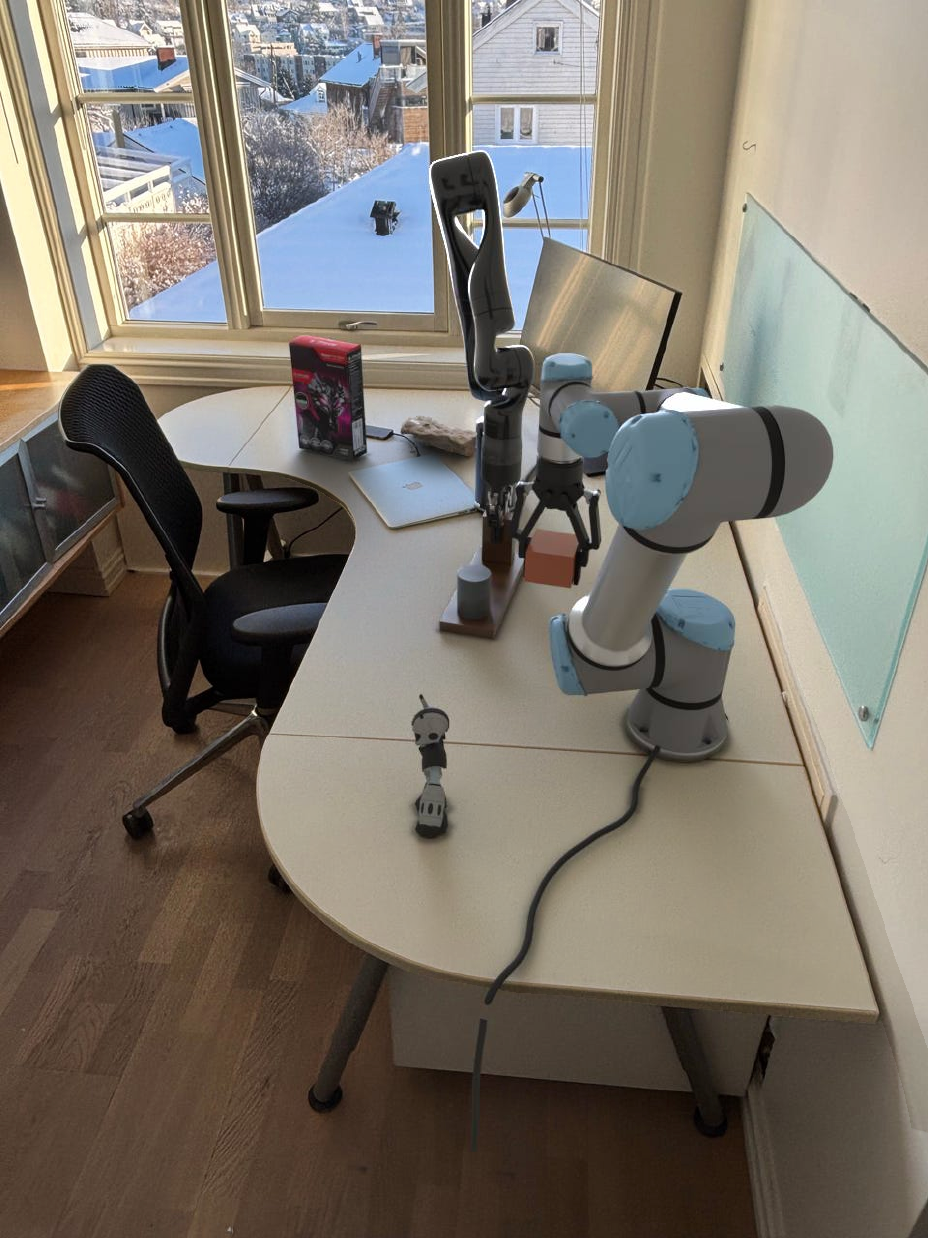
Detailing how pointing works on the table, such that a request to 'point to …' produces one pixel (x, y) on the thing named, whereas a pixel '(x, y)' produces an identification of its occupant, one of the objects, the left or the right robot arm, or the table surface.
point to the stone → (440, 435)
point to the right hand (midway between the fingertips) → (551, 577)
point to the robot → (431, 769)
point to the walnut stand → (484, 586)
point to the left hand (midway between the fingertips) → (498, 537)
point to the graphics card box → (329, 396)
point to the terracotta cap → (551, 558)
